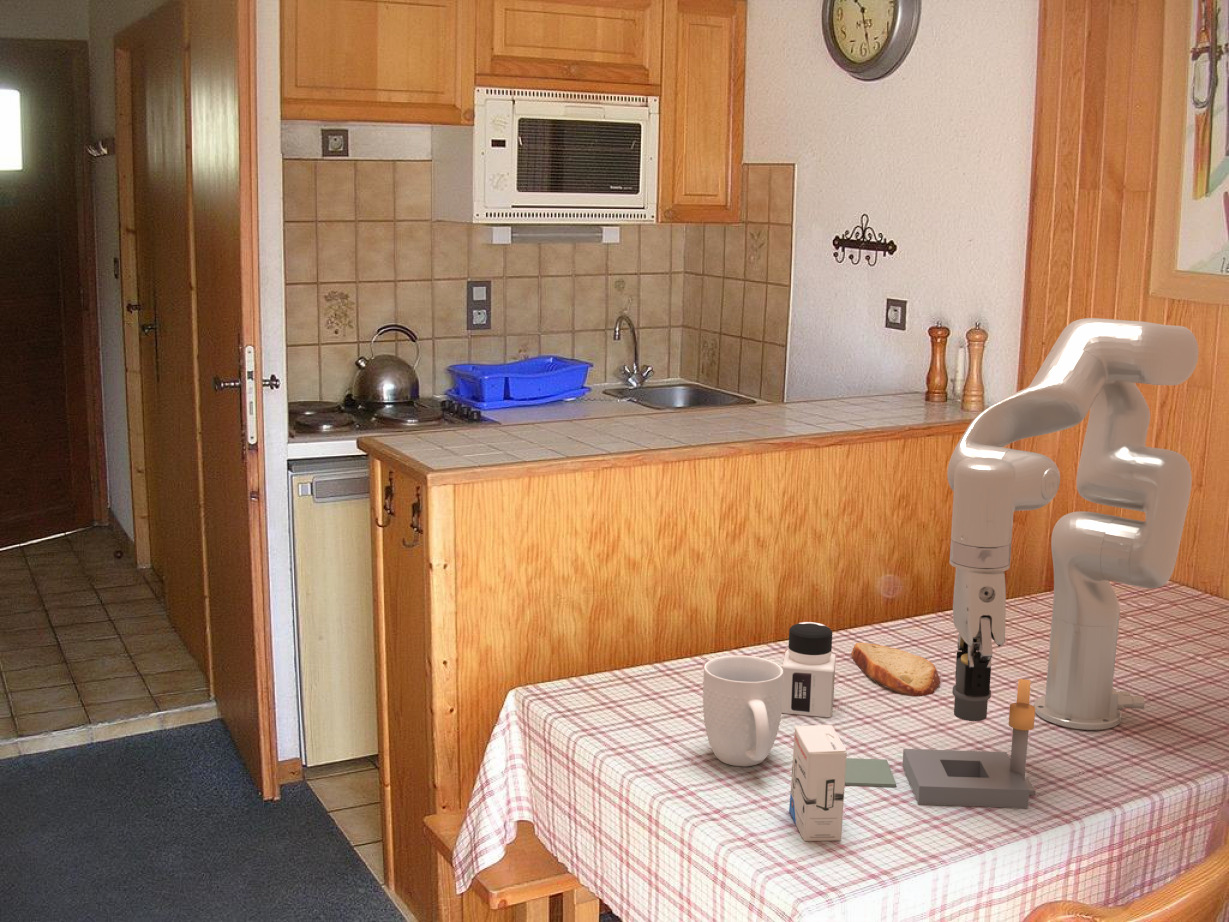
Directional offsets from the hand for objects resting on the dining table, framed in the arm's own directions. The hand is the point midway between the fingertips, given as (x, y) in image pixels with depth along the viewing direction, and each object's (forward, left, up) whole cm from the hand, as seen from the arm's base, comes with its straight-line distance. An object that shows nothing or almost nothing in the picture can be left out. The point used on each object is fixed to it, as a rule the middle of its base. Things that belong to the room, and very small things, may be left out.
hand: (972, 686), depth 173 cm
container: (+18, -27, -14) cm, 35 cm away
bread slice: (+3, -43, -15) cm, 46 cm away
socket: (0, 0, -14) cm, 14 cm away
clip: (-8, -4, -5) cm, 10 cm away
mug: (+29, -6, -14) cm, 33 cm away
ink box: (+21, +13, -14) cm, 29 cm away
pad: (+13, -3, -14) cm, 19 cm away
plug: (0, 0, -4) cm, 4 cm away
